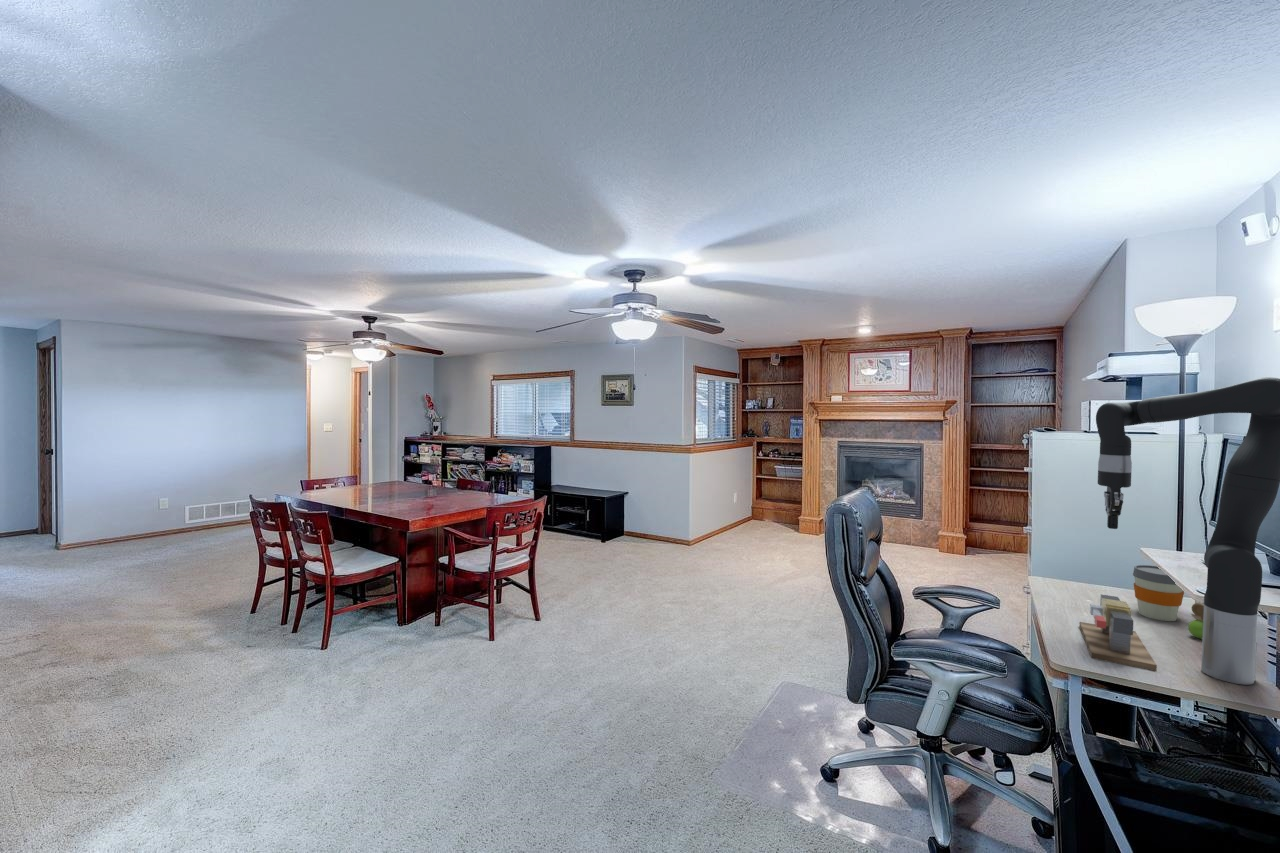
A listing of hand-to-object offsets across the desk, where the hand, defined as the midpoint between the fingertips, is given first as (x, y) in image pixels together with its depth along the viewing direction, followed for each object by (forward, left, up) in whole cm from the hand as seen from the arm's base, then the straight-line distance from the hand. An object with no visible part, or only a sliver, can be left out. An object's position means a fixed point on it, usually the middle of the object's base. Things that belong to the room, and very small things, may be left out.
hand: (1112, 528), depth 164 cm
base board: (+7, +7, -32) cm, 34 cm away
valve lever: (+9, +3, -22) cm, 25 cm away
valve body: (+7, +7, -30) cm, 32 cm away
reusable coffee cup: (-32, -8, -32) cm, 46 cm away
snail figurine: (-24, +9, -32) cm, 41 cm away
